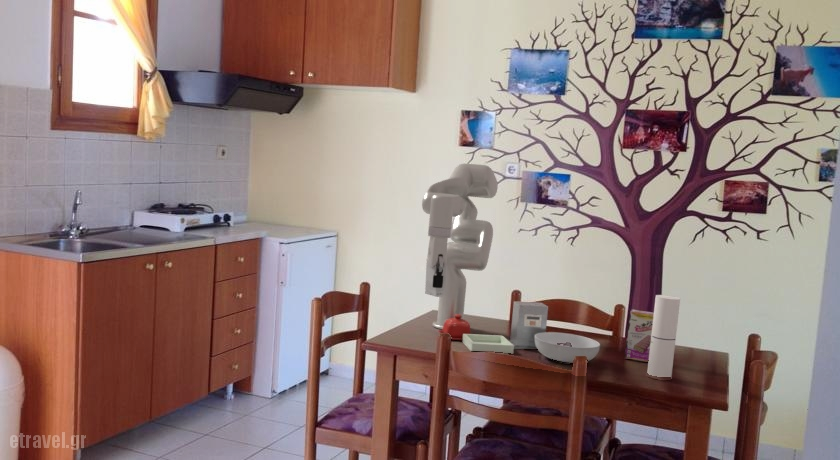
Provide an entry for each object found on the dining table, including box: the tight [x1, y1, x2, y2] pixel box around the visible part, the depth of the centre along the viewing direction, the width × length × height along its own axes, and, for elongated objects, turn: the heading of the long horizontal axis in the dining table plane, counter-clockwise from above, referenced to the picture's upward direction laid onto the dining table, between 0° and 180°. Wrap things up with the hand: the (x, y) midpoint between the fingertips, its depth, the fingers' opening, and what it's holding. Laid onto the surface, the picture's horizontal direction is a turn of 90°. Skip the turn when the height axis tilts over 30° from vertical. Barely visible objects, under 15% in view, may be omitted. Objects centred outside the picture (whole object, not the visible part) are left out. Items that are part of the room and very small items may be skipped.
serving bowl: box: [535, 331, 601, 364], centre depth 246 cm, size 21×21×7 cm
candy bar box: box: [624, 309, 654, 360], centre depth 254 cm, size 11×5×16 cm, turn 71°
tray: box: [461, 333, 515, 355], centre depth 255 cm, size 14×14×3 cm
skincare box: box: [424, 258, 447, 298], centre depth 253 cm, size 6×4×12 cm
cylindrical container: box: [646, 294, 681, 378], centre depth 233 cm, size 7×7×25 cm
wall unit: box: [507, 300, 549, 350], centre depth 260 cm, size 9×12×15 cm
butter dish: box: [438, 314, 472, 341], centre depth 266 cm, size 12×12×8 cm
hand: (435, 285), depth 253 cm, fingers closed on skincare box, 7 cm apart
